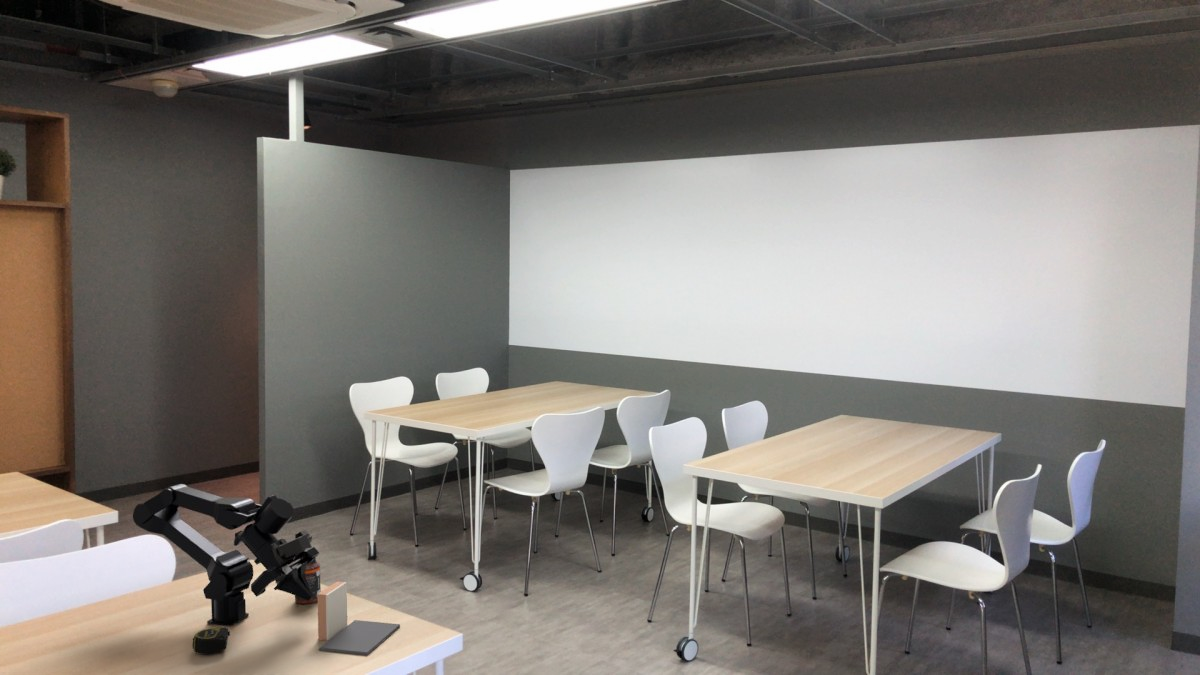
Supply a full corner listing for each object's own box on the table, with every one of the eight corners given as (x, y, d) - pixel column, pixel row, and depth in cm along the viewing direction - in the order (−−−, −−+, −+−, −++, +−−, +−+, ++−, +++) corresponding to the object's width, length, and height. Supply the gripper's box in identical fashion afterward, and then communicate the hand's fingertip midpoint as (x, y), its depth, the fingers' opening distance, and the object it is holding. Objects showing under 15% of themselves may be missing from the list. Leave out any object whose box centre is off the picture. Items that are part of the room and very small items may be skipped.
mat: (319, 650, 177) (319, 647, 177) (355, 622, 192) (355, 620, 192) (367, 655, 175) (367, 652, 175) (399, 626, 190) (399, 624, 190)
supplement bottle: (326, 599, 206) (325, 553, 206) (304, 606, 202) (303, 560, 201) (310, 594, 210) (310, 549, 209) (289, 601, 205) (288, 555, 204)
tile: (318, 639, 183) (317, 594, 182) (337, 625, 191) (336, 581, 190) (328, 640, 182) (327, 594, 182) (347, 625, 190) (346, 582, 190)
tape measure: (226, 655, 176) (226, 637, 175) (190, 659, 173) (189, 641, 173) (230, 642, 182) (229, 624, 182) (195, 646, 180) (194, 628, 180)
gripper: (261, 534, 178) (310, 590, 177) (310, 511, 197) (355, 561, 195) (230, 568, 181) (277, 623, 179) (281, 543, 199) (324, 592, 197)
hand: (310, 598), depth 187 cm, fingers closed
